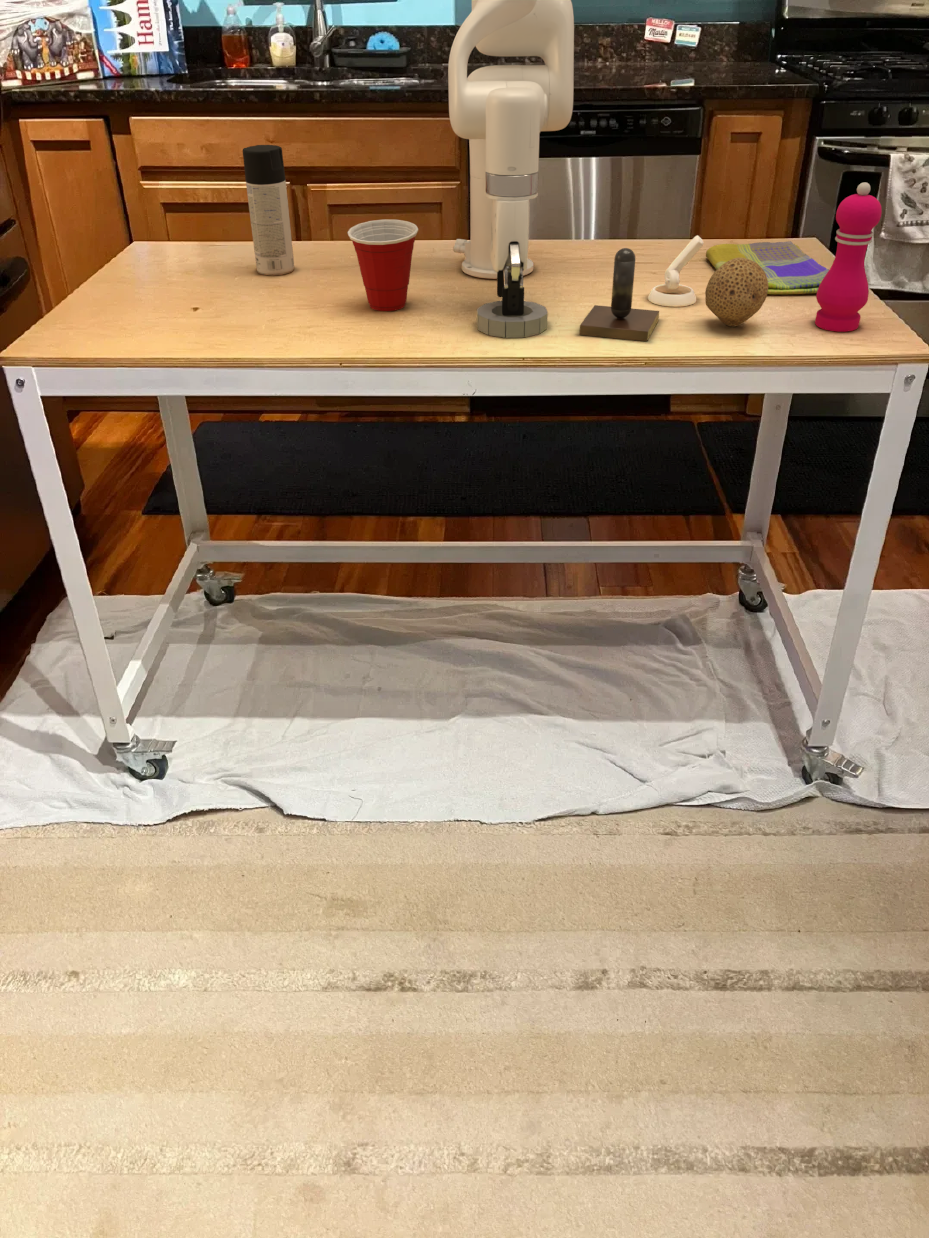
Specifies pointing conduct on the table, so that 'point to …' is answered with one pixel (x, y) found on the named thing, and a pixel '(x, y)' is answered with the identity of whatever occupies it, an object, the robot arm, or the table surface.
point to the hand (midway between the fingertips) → (510, 305)
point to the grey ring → (511, 320)
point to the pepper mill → (848, 263)
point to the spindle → (621, 307)
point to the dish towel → (775, 265)
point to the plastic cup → (385, 260)
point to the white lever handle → (676, 280)
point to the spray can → (268, 209)
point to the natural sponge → (736, 291)
